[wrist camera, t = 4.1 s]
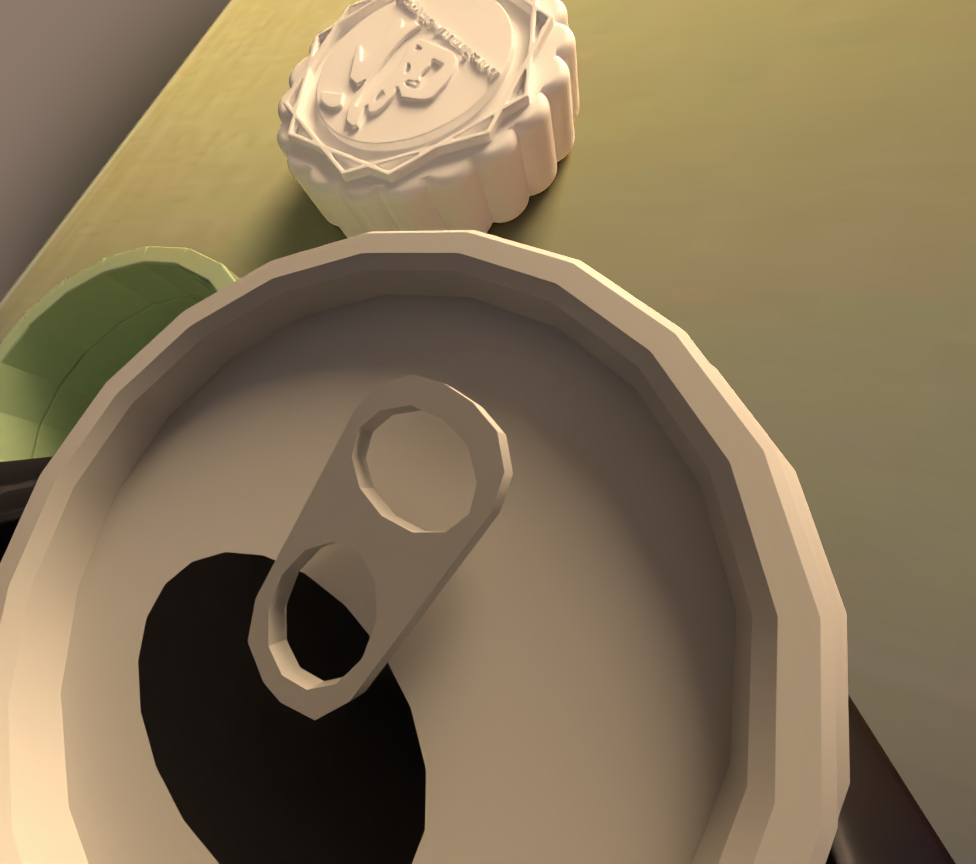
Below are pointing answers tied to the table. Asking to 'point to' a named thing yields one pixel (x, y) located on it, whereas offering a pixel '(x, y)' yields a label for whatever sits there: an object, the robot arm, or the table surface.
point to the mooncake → (432, 112)
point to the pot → (91, 339)
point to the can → (420, 587)
